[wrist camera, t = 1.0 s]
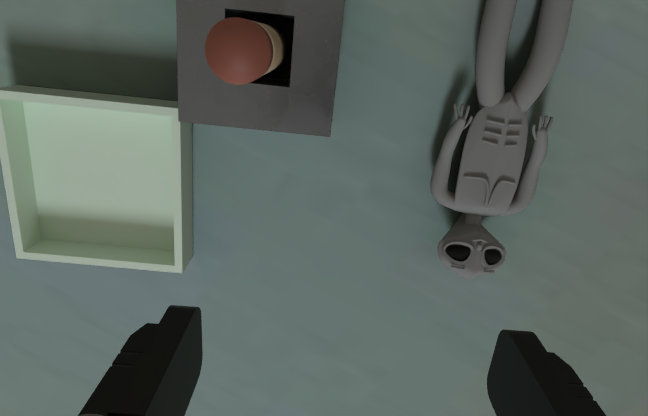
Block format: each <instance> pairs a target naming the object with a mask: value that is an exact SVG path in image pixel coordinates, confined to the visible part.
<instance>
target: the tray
mask: <svg viewBox="0 0 648 416" xmlns="http://www.w3.org/2000/svg"><path fill="white" fill-rule="evenodd" d="M0 159H1V165H2V171H3V177H4V183H5V190H6V196H7V202H8V208H9V214H10V220H11V226H12V232H13V238H14V245H15V251H16V257H17V258H21V259H32V260H43V261H54V262H65V263H76V264H87V265H98V266H109V267H120V268H131V269H142V270H152V271H163V272H174V273H183V271H184V270H185V268H186V267H187V265H188V263H189V262H190V260H191V259H192V257H193V142H192V123H188V122H178V101H170V100H160V99H150V98H141V97H131V96H121V95H111V94H102V93H92V92H82V91H72V90H63V89H53V88H43V87H34V86H24V85H13V86H7V87H0Z"/></svg>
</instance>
